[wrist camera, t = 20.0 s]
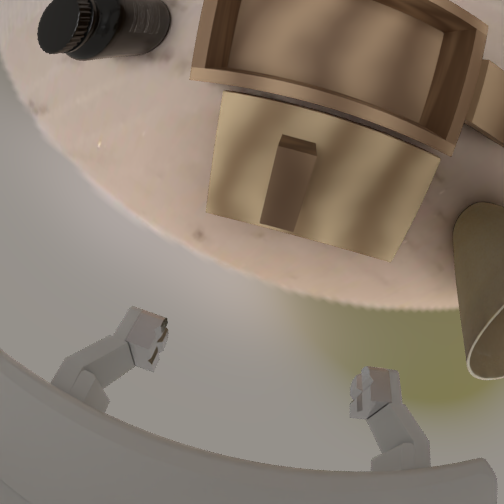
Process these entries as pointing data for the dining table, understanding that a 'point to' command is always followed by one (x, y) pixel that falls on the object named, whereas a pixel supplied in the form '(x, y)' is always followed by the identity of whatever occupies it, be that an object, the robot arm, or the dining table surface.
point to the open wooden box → (360, 61)
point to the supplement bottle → (102, 27)
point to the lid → (316, 175)
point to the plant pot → (481, 287)
